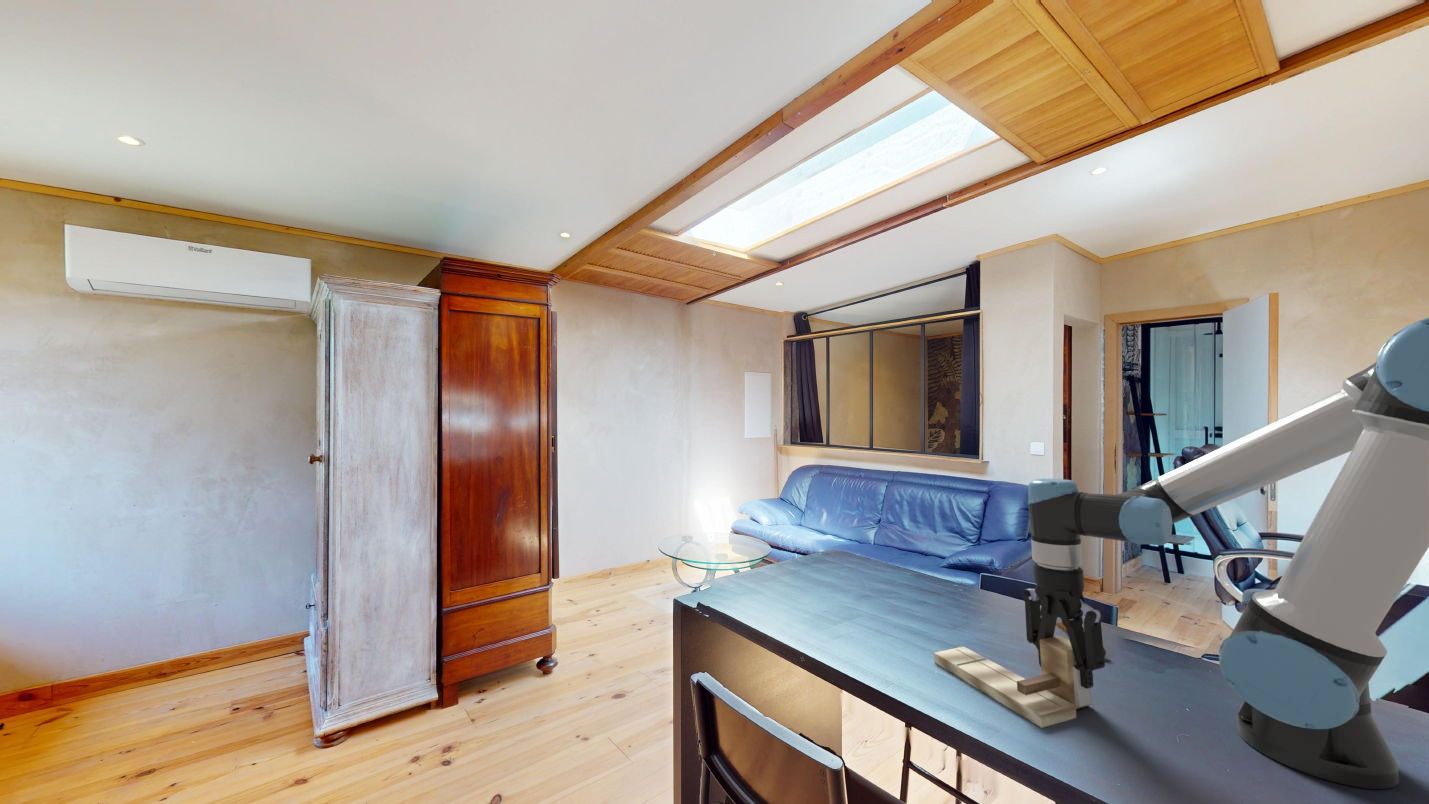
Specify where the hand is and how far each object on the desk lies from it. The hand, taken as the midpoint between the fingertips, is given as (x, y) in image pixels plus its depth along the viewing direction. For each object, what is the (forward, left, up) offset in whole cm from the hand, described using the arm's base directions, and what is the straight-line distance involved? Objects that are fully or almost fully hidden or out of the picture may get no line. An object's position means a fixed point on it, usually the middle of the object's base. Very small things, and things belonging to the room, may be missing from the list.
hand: (1066, 695), depth 87 cm
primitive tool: (+17, -27, -2) cm, 33 cm away
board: (+8, +7, -1) cm, 11 cm away
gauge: (0, +4, -1) cm, 4 cm away
